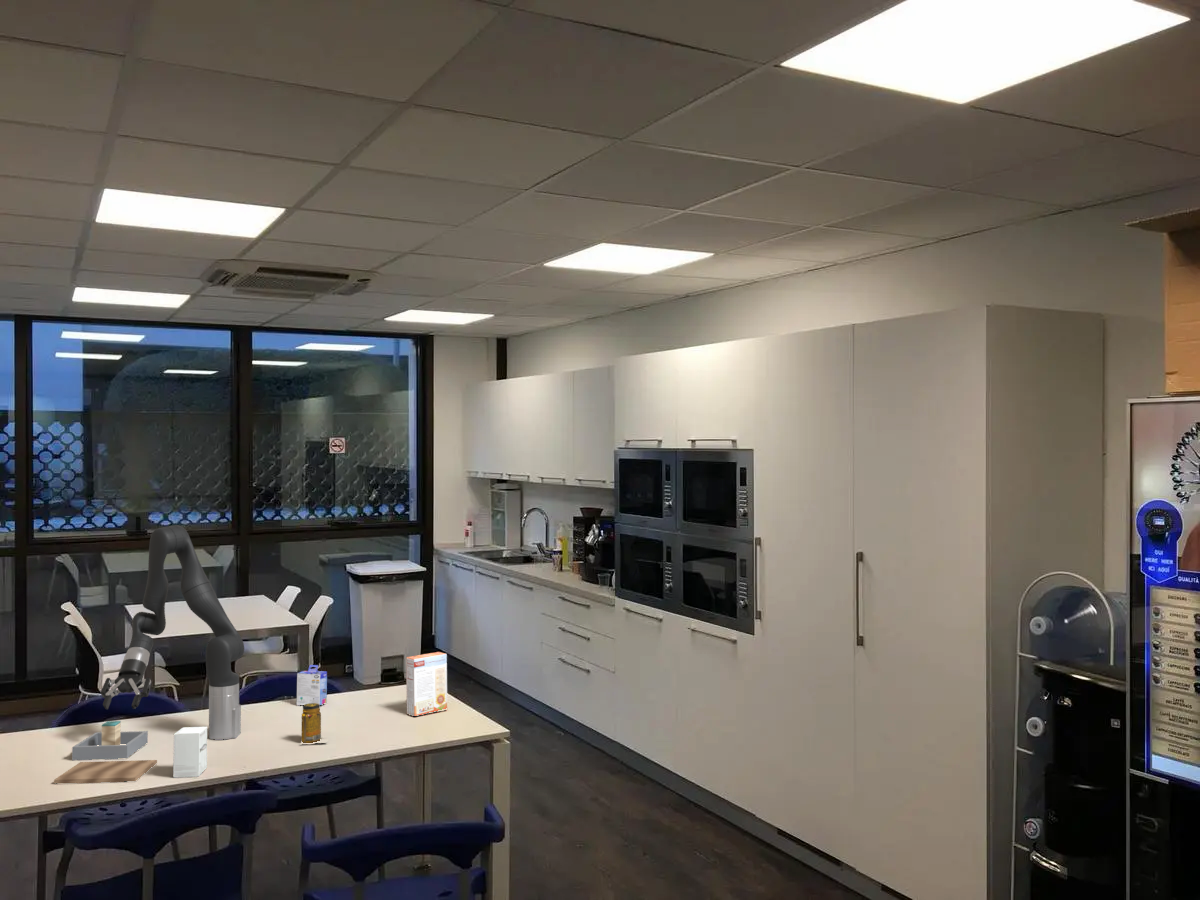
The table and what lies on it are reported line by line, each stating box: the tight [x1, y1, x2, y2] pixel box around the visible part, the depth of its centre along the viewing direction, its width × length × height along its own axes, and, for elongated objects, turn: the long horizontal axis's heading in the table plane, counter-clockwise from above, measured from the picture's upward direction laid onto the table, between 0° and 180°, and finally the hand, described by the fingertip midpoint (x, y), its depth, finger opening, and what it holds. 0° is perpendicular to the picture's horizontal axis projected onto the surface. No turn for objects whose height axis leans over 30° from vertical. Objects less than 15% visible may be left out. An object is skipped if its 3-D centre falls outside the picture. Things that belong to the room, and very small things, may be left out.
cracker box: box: [405, 651, 448, 717], centre depth 340 cm, size 14×6×21 cm, turn 133°
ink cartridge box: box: [296, 664, 328, 706], centre depth 352 cm, size 10×6×14 cm, turn 78°
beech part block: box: [101, 720, 122, 745], centre depth 294 cm, size 4×4×9 cm
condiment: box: [300, 703, 322, 743], centre depth 304 cm, size 7×8×12 cm
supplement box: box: [172, 726, 208, 778], centre depth 273 cm, size 7×7×13 cm
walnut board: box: [53, 759, 158, 784], centre depth 272 cm, size 22×16×1 cm
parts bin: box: [71, 730, 149, 761], centre depth 294 cm, size 16×16×4 cm
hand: (119, 707), depth 300 cm, fingers open, 8 cm apart
